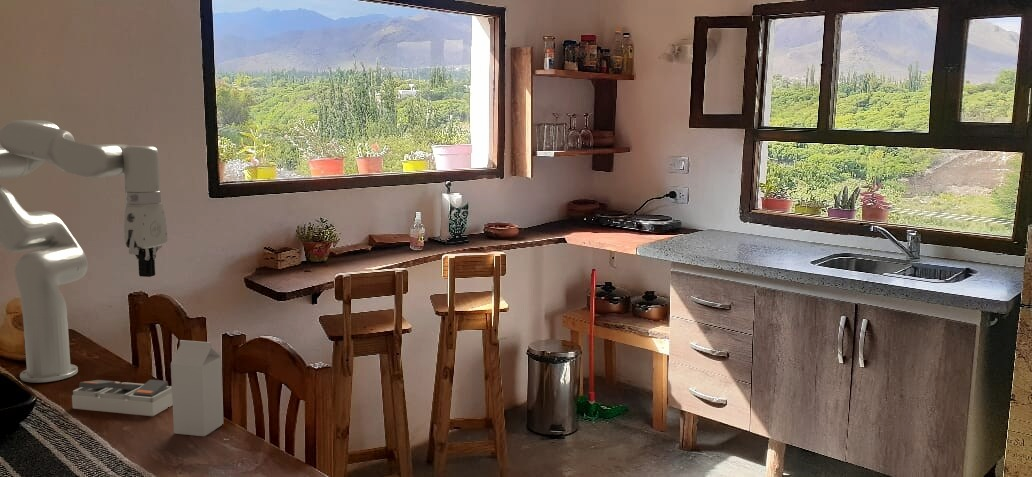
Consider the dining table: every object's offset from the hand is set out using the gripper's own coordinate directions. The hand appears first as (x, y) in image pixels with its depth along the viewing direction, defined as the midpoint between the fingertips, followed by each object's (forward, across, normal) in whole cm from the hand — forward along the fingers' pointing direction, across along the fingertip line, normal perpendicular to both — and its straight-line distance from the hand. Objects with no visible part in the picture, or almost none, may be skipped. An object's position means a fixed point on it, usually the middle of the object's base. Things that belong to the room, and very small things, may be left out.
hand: (147, 275), depth 195 cm
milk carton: (+27, -22, -26) cm, 44 cm away
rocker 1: (+23, -14, +4) cm, 27 cm away
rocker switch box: (+27, -14, -2) cm, 30 cm away
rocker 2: (+23, -14, -2) cm, 26 cm away
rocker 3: (+23, -14, -9) cm, 28 cm away
